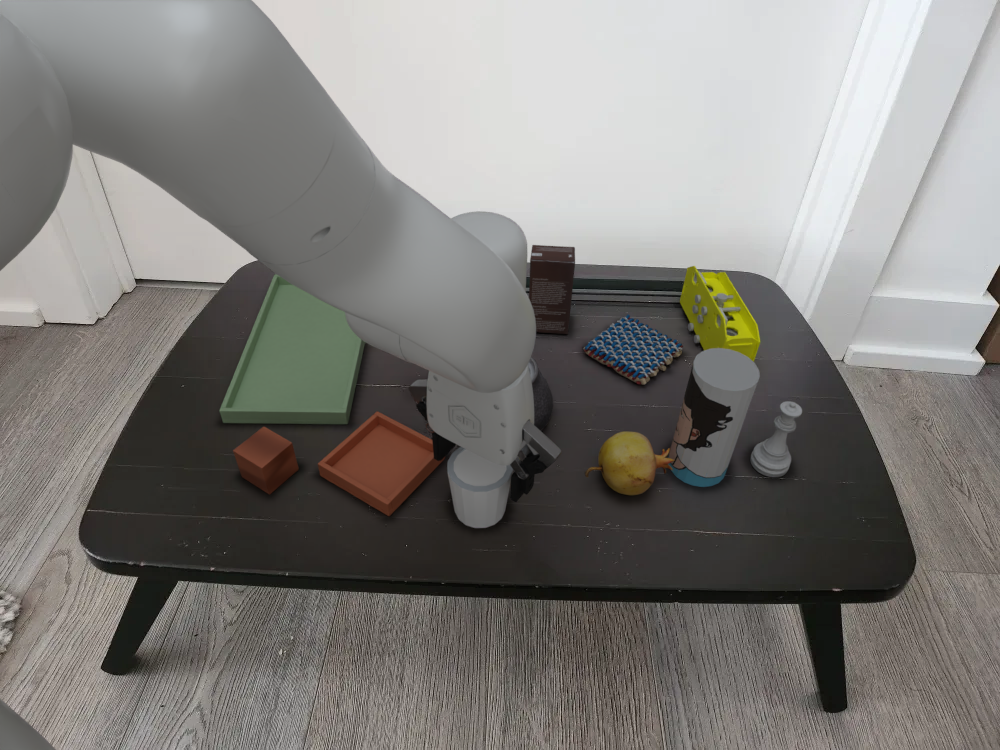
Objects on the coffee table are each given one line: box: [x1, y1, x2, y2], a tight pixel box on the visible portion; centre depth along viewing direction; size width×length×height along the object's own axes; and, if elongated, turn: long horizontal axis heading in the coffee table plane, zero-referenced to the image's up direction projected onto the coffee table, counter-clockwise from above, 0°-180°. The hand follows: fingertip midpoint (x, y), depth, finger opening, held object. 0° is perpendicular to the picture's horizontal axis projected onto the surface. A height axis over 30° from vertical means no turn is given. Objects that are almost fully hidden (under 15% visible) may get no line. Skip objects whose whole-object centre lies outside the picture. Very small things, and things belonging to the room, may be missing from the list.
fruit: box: [584, 430, 675, 496], centre depth 80 cm, size 7×7×10 cm
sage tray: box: [219, 273, 366, 425], centre depth 99 cm, size 29×15×2 cm, turn 0°
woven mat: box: [583, 314, 684, 386], centre depth 99 cm, size 10×11×2 cm
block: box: [232, 426, 300, 495], centre depth 81 cm, size 4×4×4 cm
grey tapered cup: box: [446, 446, 514, 529], centre depth 77 cm, size 7×7×7 cm
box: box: [528, 244, 576, 335], centre depth 100 cm, size 6×4×12 cm
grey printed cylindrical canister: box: [667, 348, 761, 488], centre depth 80 cm, size 7×7×15 cm
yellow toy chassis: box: [679, 265, 761, 363], centre depth 100 cm, size 16×6×8 cm, turn 7°
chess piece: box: [749, 400, 803, 478], centre depth 82 cm, size 4×4×10 cm
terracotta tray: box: [317, 410, 446, 517], centre depth 83 cm, size 10×10×2 cm
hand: (482, 471), depth 76 cm, fingers open, 9 cm apart
